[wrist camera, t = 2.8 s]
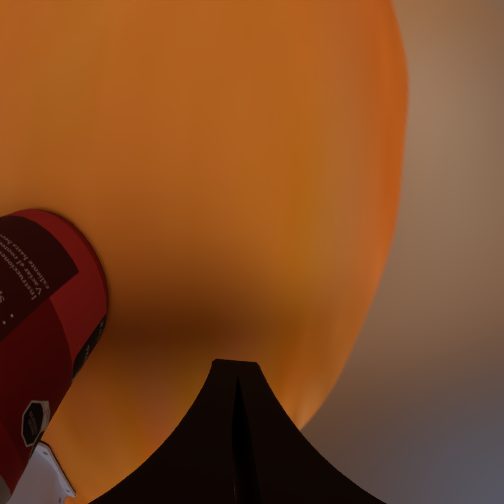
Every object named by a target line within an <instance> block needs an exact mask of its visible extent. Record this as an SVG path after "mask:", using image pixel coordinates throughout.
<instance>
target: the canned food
mask: <svg viewBox="0 0 504 504" xmlns="http://www.w3.org/2000/svg"><path fill="white" fill-rule="evenodd" d="M107 306H108V294H107V286H106V281H105V276H104V273H103V270H102V267H101V265H100V262H99V259H98V258H97V256H96V254H95V252H94V250H93V248H92V246H91V245H90V244H89V242H88V241H87V240H86V238H85V237H84V236H83V234H82V233H81V232H80V231H79V230H78V229H77V228H76V227H75V226H74V225H73V224H71V223H70V222H68V221H67V220H65V219H64V218H62V217H61V216H58V215H55V214H53V213H50V212H46V211H42V210H33V209H27V210H21V211H17V212H14V213H11V214H8V215H5V216H2V217H0V504H6V503H7V502H8V501H9V500H10V498H11V496H12V494H13V492H14V490H15V488H16V486H17V483H18V481H19V480H20V478H21V476H22V474H23V473H24V471H25V469H26V467H27V465H28V463H29V461H30V459H31V457H32V455H33V453H34V451H35V449H36V447H37V445H38V443H39V441H40V439H41V437H42V435H43V434H44V432H45V430H46V428H47V426H48V424H49V422H50V421H51V419H52V417H53V415H54V413H55V412H56V410H57V408H58V406H59V405H60V403H61V401H62V399H63V398H64V396H65V394H66V393H67V391H68V389H69V387H70V386H71V384H72V382H73V381H74V379H75V377H76V376H77V374H78V372H79V371H80V369H81V368H82V366H83V364H84V363H85V361H86V359H87V358H88V356H89V355H90V353H91V352H92V350H93V348H94V347H95V345H96V344H97V342H98V341H99V339H100V337H101V335H102V332H103V329H104V326H105V320H106V313H107Z"/></svg>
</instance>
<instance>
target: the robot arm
mask: <svg viewBox="0 0 504 504" xmlns="http://www.w3.org/2000/svg"><path fill="white" fill-rule="evenodd" d="M234 488H235V491H234ZM67 495H68V496H71V497H75V496H76V494H75V492H74V491H73V489H72V487H71V486H70V484H69V482H68V481H67V479H66V477H65V476H64V474H63V472H62V470H61V469H60V467H59V465H58V463H57V461H56V460H55V458H54V456H53V454H52V452H51V450H50V448H49V447H48V446H47V445H45V444H43V443H41V442H39V443H38V445H37V447H36V449H35V451H34V453H33V455H32V457H31V459H30V461H29V463H28V465H27V467H26V469H25V471H24V473H23V474H22V476H21V478H20V480H19V481H18V483H17V486H16V488H15V490H14V492H13V494H12V496H11V498H10V500H9V501H8V502H7V503H6V504H64V502H65V499H66V496H67ZM88 504H386V503H384V502H382V501H381V500H379V499H377V498H376V497H374V496H372V495H371V494H369V493H368V492H366V491H364V490H363V489H361V488H360V487H359V486H357V485H356V484H355V483H353V482H352V481H351V480H350V479H348V478H347V477H346V476H344V475H343V474H342V473H341V472H339V471H338V470H337V469H336V468H335V467H333V466H332V465H331V464H330V463H329V462H328V461H327V460H326V459H325V458H324V457H323V456H322V455H320V453H319V452H318V451H317V450H316V449H315V448H314V447H313V446H312V445H311V444H310V443H309V442H308V440H307V439H306V438H305V437H304V436H303V435H302V433H301V432H300V431H299V430H298V428H297V427H296V426H295V424H294V423H293V422H292V421H291V419H290V418H289V416H288V415H287V414H286V412H285V411H284V409H283V408H282V406H281V404H280V403H279V401H278V400H277V398H276V397H275V395H274V393H273V392H272V390H271V388H270V386H269V385H268V383H267V381H266V379H265V377H264V375H263V373H262V371H261V369H260V366H259V365H258V364H257V363H256V362H246V361H234V360H224V359H215V360H214V361H212V366H211V369H210V372H209V375H208V377H207V379H206V381H205V383H204V385H203V387H202V389H201V391H200V393H199V394H198V396H197V398H196V400H195V401H194V403H193V404H192V406H191V408H190V409H189V410H188V412H187V413H186V415H185V416H184V418H183V419H182V420H181V422H180V423H179V425H178V426H177V427H176V428H175V430H174V431H173V432H172V433H171V435H170V436H169V437H168V438H167V439H166V440H165V441H164V443H163V444H162V445H161V446H160V447H159V448H158V449H157V450H156V451H155V452H154V453H153V454H152V455H151V456H150V457H149V458H148V459H147V460H146V461H145V462H144V463H143V464H142V465H141V466H140V467H138V468H137V469H136V470H135V471H134V472H132V473H131V474H130V475H129V476H127V477H126V478H125V479H124V480H122V481H121V482H120V483H118V484H117V485H116V486H115V487H113V488H112V489H110V490H109V491H108V492H106V493H105V494H103V495H101V496H100V497H98V498H96V499H95V500H93V501H92V502H90V503H88Z"/></svg>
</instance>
